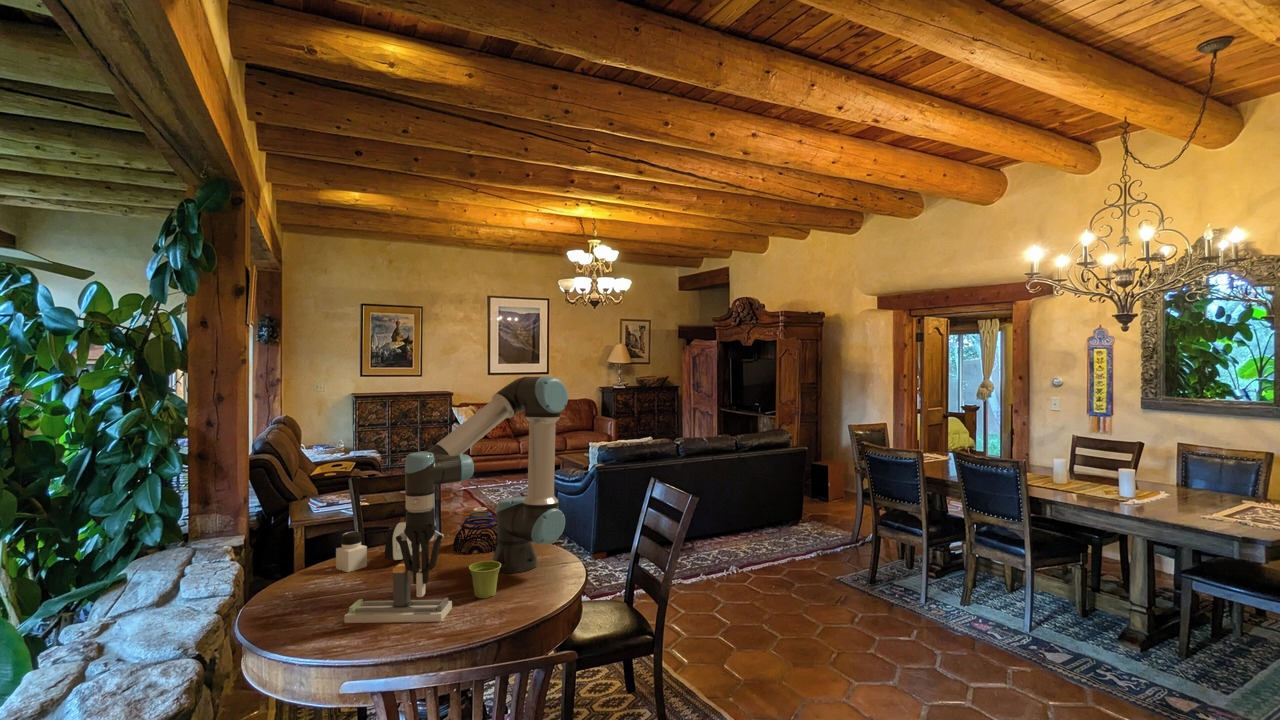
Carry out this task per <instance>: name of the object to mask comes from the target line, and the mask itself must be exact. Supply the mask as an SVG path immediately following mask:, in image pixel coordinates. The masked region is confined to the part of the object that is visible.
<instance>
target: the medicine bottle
mask: <svg viewBox="0 0 1280 720" xmlns="http://www.w3.org/2000/svg"><path fill="white" fill-rule="evenodd" d="M335 557H336V558H335V563H336V564H335V567H336V569H335V570H338V571H341V570H342V571H341V572H346V573H352V572H354V571H357V570H361V569H364V568H366V567H368V546H367V545H363V544H362V532H359V531H349V532H348V531H347V532H345V533H343V534H342V536H341V547H336V548H335ZM351 571H352V572H351Z"/></svg>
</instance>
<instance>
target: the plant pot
mask: <svg viewBox="0 0 1280 720" xmlns="http://www.w3.org/2000/svg"><path fill="white" fill-rule="evenodd" d="M500 567H501V563H499V562H496V561H492V560H483V561H482V560H481V561H478V562H474V563H471V564H470V565H469V566H468V569H469V571H470V574H471V579H472V586H473V592H474V597H477V598H478V599H488V598H489V597H494V596H495V595H496V593H497V585H498V577H499V573H500V572H499V569H500Z"/></svg>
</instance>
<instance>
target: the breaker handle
mask: <svg viewBox="0 0 1280 720" xmlns="http://www.w3.org/2000/svg"><path fill="white" fill-rule="evenodd" d="M392 597H393V598H392V600H393V607H410V606H411V601H410V600H412V599H411V597H412V596H411V571H410V570H408V571H407V570H406V568H405V564H404V563H399V564H397V565H396V566H395V567H394V568H392Z"/></svg>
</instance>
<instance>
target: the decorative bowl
mask: <svg viewBox="0 0 1280 720" xmlns="http://www.w3.org/2000/svg"><path fill="white" fill-rule="evenodd" d="M487 510H488V508H487V507H483V506H482V507H475V508H473V511H474V512H472V513H469V514H468V517H467V518H465V519H464V520H463V523H462V524H461V525H460V527H461V528H460V529H459V530H458V532H457V533H456V534H455V537H454V539H453V544H452V551H453V552H454V551H455V553H457V552H458V553H457V554H460V553H464V554H463V555H469V554H474V552H475V551H476V552H477V554H479V553H487V552H488V553H489V552H492V551H495V550H496V547H497V517H495V516H493V513H491V512H489V511H487ZM475 514H484V515H475ZM492 523H494V524H492ZM467 525H469V526H467ZM470 525H471V526H470ZM466 530H468V531H467V532H466ZM491 531H492V532H491ZM493 536H494V537H493ZM482 537H483V538H482ZM477 539H480V540H477ZM470 540H473V541H470ZM494 540H495V541H494ZM466 552H467V553H466ZM492 553H493V552H492Z"/></svg>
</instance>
